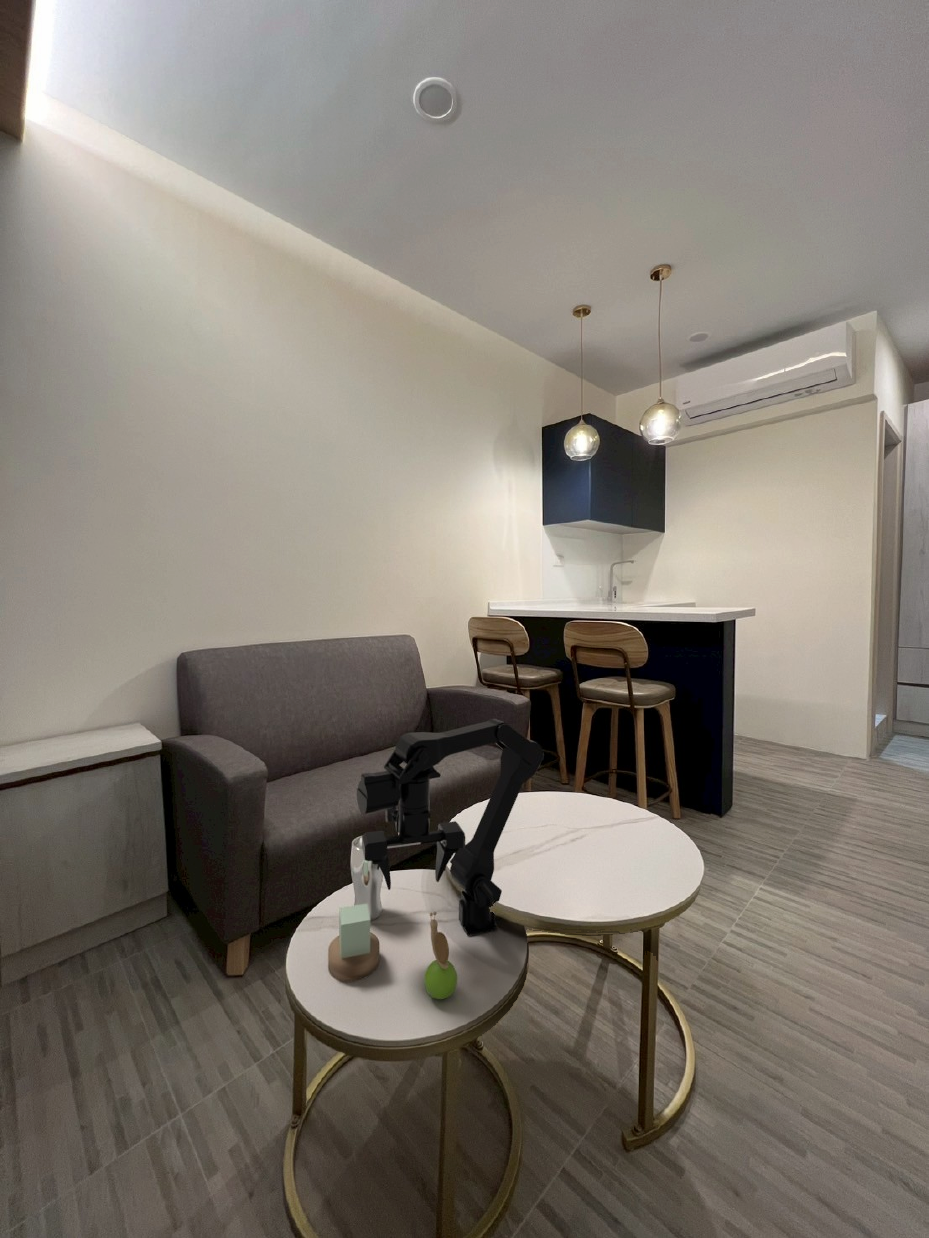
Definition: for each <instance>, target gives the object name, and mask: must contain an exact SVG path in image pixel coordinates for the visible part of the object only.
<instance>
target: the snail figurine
mask: <svg viewBox="0 0 929 1238" xmlns="http://www.w3.org/2000/svg"><path fill="white" fill-rule="evenodd" d="M436 915H437V912H436V911H433V912H430V913H429V916H430V917H433V916H434V919H430V923H429V925H430V939H431V946H432V952H433V955H434V957H435V960H433V961H432V962H431V963H430V964H429V965H428V966H427V968H426V970H425V973H424V977H423V978H424V979H423V981H424V986H425V989H426V991H427V993H428V994H429V995H430V996H431V998H434V999H436V1000H443V999H446V998H448V997H450V996H451V995H452V994H453V993H454V991H455V989H456V987H457V985H458V974H457V970H456V968H455V966H454V965H453V963H452V962H450V961H449V958H450V949H449V948H450V947H449V943H448V939H447V937H446V935H445V934H444V933H443V932H442V931H438V927H439V926H438V925H439V924H438V923H439V922H438V921H437V920H436Z"/></svg>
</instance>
